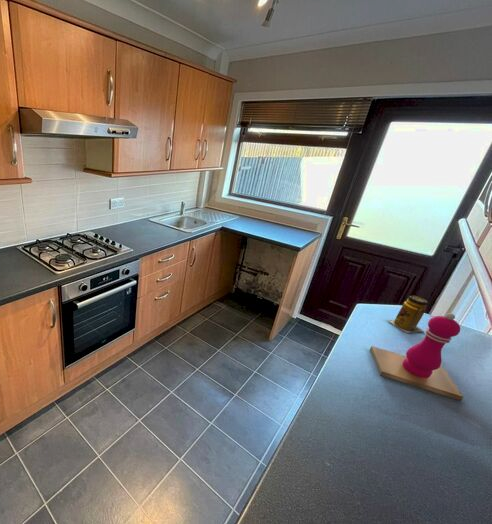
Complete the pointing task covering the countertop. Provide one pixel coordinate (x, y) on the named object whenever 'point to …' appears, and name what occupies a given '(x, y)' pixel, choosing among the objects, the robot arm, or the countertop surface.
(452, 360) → the countertop surface
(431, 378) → the chopping board
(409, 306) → the condiment
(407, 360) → the pepper mill
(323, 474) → the countertop surface
